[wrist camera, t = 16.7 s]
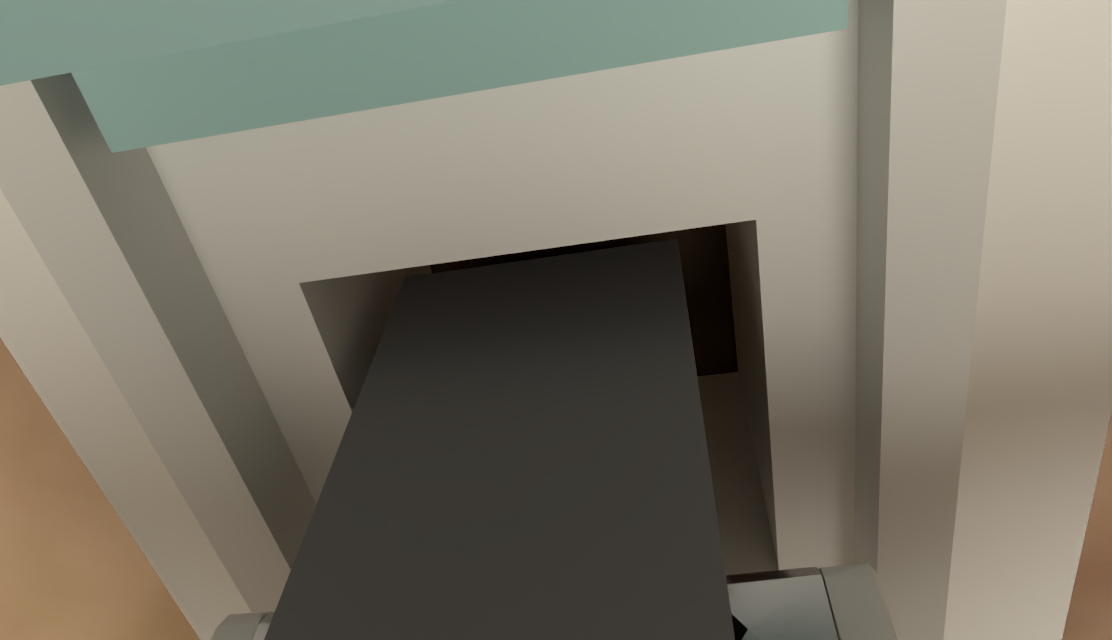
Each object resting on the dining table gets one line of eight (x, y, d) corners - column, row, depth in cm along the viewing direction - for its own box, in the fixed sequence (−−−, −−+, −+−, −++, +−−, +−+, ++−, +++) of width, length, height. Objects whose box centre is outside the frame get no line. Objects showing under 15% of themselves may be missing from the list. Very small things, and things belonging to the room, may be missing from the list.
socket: (950, 469, 18) (1085, 755, 13) (331, 527, 20) (235, 792, 15) (1071, -860, 8) (1808, -1845, 3) (-146, -484, 10) (-887, -719, 5)
